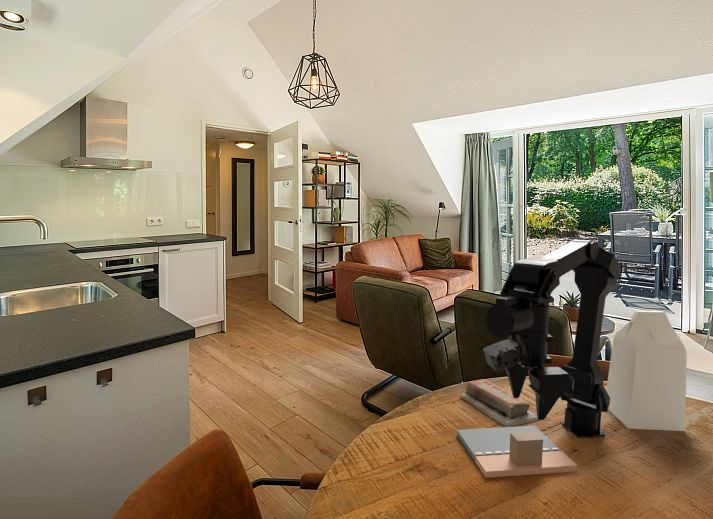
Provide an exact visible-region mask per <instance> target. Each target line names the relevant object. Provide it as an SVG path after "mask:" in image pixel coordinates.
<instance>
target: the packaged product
mask: <svg viewBox="0 0 713 519" xmlns="http://www.w3.org/2000/svg"><path fill="white" fill-rule="evenodd" d="M465 386H466V387H465V392H461V393H460V398H461V399H462V400H464V401H465V402H467V401H468V402H467V403H469V404H470V405H471V406H473V407H474V408H477V409H478V410H479V411H480V412H482V413H484V414H485V415H487V416H488V417H490V418H491V419H492V420H495V421H496V422H498V423H500V424H501V425H503V427H516V426H521V425H523V424H527V423H532V422H535V421H539V420H538V418H537V414H535V413H534V412H533V411H530V410H529V408H530V406H531V405H530V403H528V402H527V401H525V400H523V399H521V398H520V397H519V398H514V397H513V395H512V393H510V392H509V391H507V390H505V389H504V388H502V387H500V386H498V385H496V384H495V383H492V382H491V381H489V380H487V379H483V378H480V379H476V380H472V381H468V382H466V385H465Z"/></svg>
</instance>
